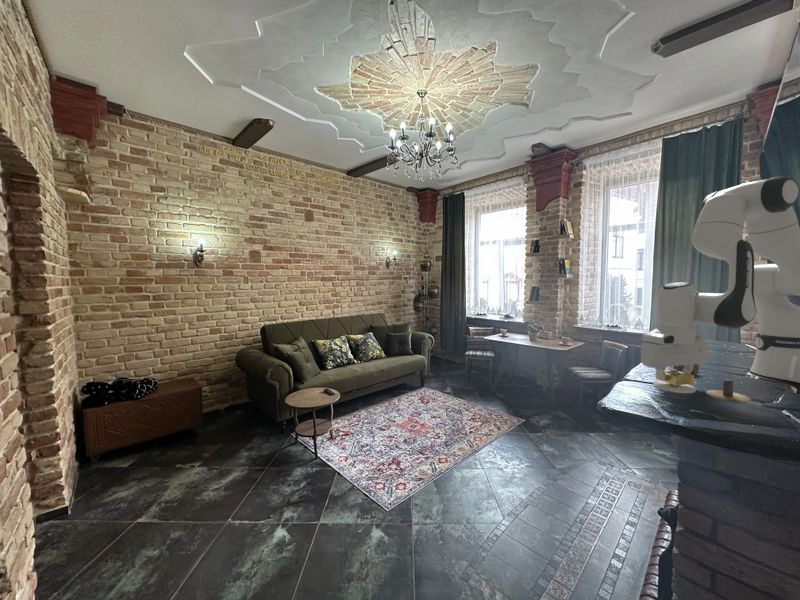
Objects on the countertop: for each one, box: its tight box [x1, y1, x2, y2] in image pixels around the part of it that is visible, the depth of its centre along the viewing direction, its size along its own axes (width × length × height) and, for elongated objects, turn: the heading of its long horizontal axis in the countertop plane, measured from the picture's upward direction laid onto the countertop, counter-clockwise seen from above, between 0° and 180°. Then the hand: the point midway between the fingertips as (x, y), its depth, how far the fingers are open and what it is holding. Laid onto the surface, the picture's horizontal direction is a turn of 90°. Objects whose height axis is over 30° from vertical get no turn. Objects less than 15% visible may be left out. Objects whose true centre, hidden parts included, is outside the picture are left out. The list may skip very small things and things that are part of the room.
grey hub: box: [652, 368, 697, 394], centre depth 98 cm, size 10×10×7 cm
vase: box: [672, 364, 700, 376], centre depth 112 cm, size 7×7×9 cm
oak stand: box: [705, 378, 752, 403], centre depth 90 cm, size 9×9×6 cm
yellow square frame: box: [655, 369, 695, 385], centre depth 98 cm, size 6×6×2 cm
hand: (674, 379), depth 98 cm, fingers closed on yellow square frame, 6 cm apart
